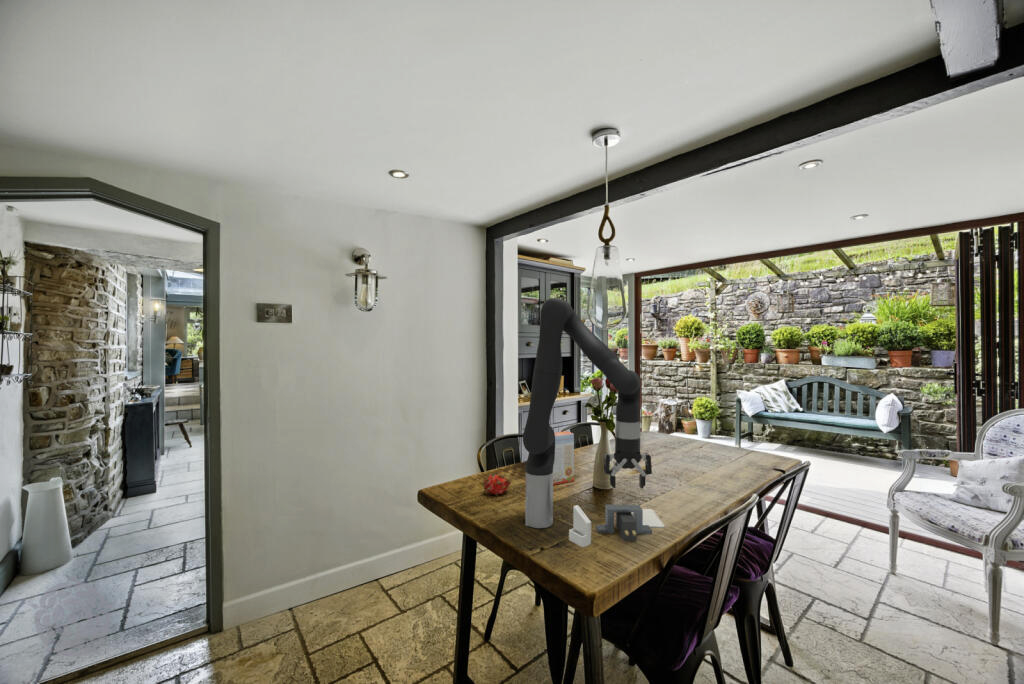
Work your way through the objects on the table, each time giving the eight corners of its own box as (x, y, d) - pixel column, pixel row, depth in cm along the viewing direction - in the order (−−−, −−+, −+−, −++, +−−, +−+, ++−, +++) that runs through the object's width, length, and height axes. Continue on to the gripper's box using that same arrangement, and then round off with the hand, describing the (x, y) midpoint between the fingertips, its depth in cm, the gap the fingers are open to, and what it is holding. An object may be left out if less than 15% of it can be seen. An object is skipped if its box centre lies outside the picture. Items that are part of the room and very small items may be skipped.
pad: (640, 527, 139) (640, 526, 139) (629, 509, 153) (629, 508, 153) (665, 527, 139) (665, 526, 139) (652, 510, 153) (652, 509, 153)
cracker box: (567, 477, 188) (567, 430, 188) (574, 481, 182) (574, 433, 182) (539, 482, 182) (539, 433, 182) (546, 486, 177) (546, 436, 176)
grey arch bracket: (598, 533, 135) (598, 509, 135) (596, 527, 139) (596, 504, 139) (652, 533, 134) (652, 510, 134) (648, 528, 138) (648, 505, 138)
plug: (624, 543, 128) (624, 523, 128) (615, 524, 141) (615, 506, 141) (637, 543, 128) (637, 524, 128) (627, 524, 141) (627, 506, 141)
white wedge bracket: (568, 523, 136) (577, 504, 133) (587, 550, 129) (598, 531, 126) (559, 526, 134) (569, 507, 130) (578, 554, 127) (589, 534, 123)
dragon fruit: (479, 499, 167) (507, 499, 172) (487, 492, 161) (516, 492, 166) (478, 477, 172) (505, 478, 177) (485, 470, 166) (513, 471, 170)
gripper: (647, 432, 135) (647, 483, 135) (602, 432, 135) (602, 483, 136) (654, 438, 128) (654, 492, 128) (606, 438, 128) (606, 491, 128)
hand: (627, 487), depth 132 cm, fingers open, 8 cm apart
